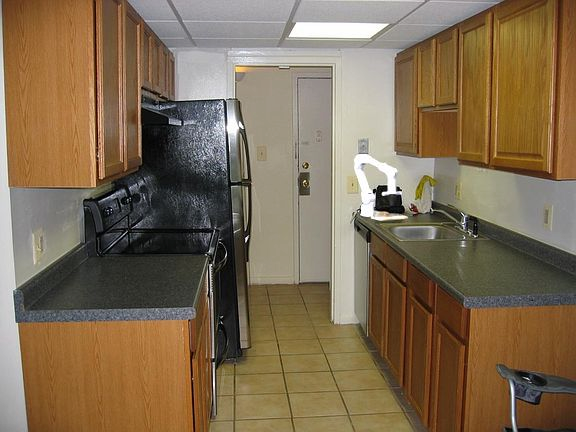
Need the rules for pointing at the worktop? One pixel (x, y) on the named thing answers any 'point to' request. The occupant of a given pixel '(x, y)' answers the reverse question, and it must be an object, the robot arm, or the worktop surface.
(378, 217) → the gauge board
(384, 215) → the carriage
